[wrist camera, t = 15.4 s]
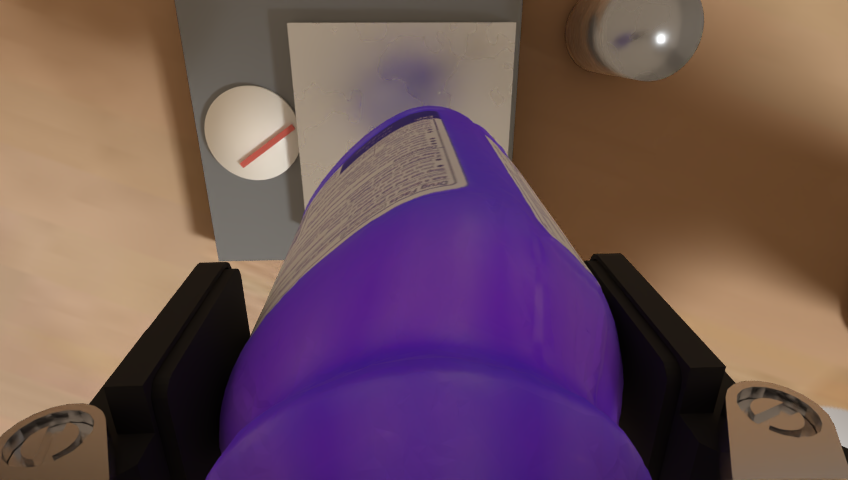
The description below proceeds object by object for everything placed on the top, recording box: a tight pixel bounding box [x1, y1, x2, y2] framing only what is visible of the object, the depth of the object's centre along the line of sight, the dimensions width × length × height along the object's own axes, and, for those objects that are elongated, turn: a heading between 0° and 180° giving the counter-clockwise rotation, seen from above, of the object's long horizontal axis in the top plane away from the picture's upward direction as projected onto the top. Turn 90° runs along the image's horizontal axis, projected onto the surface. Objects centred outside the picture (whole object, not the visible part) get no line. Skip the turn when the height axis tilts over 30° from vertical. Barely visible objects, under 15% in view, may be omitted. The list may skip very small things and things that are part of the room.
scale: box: [175, 0, 523, 261], centre depth 30 cm, size 17×15×3 cm
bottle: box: [205, 106, 652, 480], centre depth 10 cm, size 7×6×17 cm
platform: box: [287, 22, 516, 209], centre depth 28 cm, size 11×11×1 cm
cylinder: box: [565, 0, 704, 81], centre depth 27 cm, size 4×4×6 cm
